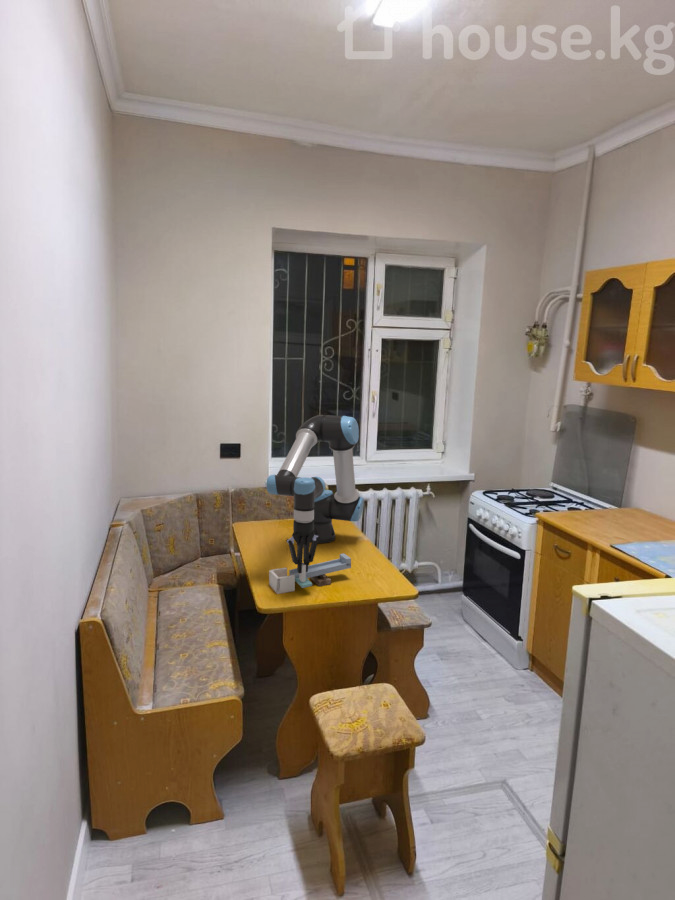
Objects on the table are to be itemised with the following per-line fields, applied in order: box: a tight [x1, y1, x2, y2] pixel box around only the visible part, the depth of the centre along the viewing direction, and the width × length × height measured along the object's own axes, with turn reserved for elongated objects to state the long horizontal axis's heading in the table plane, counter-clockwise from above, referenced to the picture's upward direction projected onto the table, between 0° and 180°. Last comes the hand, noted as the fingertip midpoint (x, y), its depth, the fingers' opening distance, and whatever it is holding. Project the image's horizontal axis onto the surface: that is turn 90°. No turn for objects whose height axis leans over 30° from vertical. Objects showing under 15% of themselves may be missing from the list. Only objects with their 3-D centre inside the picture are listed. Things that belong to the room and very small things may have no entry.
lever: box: [288, 553, 352, 589], centre depth 225 cm, size 24×13×4 cm, turn 116°
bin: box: [268, 567, 296, 595], centre depth 222 cm, size 7×9×6 cm
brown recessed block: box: [309, 574, 332, 587], centre depth 229 cm, size 5×9×4 cm, turn 26°
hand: (302, 580), depth 218 cm, fingers closed
